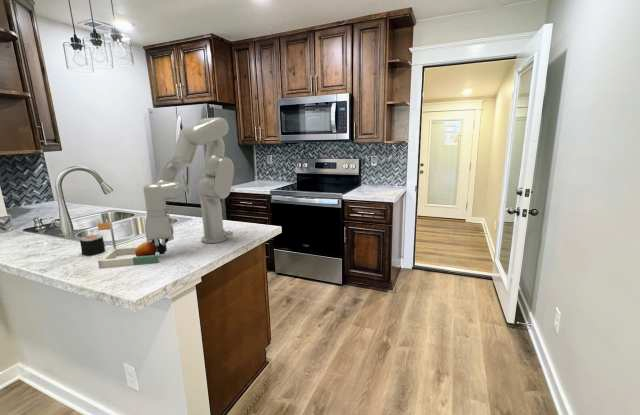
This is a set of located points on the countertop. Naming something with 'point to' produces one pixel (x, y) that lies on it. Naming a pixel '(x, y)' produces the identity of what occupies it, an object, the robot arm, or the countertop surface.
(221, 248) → the countertop surface
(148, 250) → the fruit
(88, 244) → the sushi
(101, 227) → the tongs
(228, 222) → the countertop surface
